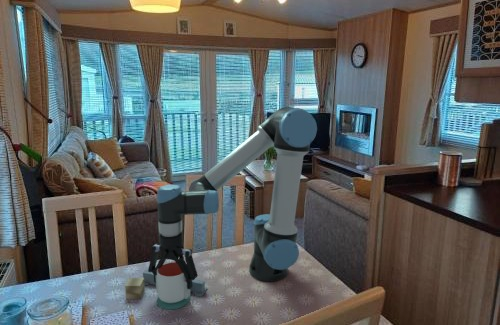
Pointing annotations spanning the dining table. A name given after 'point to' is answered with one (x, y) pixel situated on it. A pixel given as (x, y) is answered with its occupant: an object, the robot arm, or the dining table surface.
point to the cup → (170, 283)
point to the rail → (197, 288)
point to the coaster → (172, 304)
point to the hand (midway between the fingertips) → (173, 293)
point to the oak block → (135, 288)
